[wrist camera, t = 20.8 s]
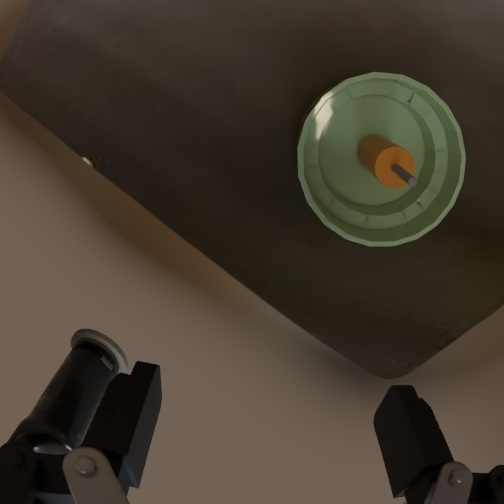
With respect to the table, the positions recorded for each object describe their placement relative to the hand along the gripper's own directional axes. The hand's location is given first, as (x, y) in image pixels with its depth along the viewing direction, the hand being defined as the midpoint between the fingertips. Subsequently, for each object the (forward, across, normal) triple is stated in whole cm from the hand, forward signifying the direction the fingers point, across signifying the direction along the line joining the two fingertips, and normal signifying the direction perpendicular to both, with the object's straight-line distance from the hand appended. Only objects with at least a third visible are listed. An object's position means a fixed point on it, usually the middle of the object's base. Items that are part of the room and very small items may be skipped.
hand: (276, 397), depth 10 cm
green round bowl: (+24, -10, -7) cm, 27 cm away
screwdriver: (+23, -10, -7) cm, 26 cm away
